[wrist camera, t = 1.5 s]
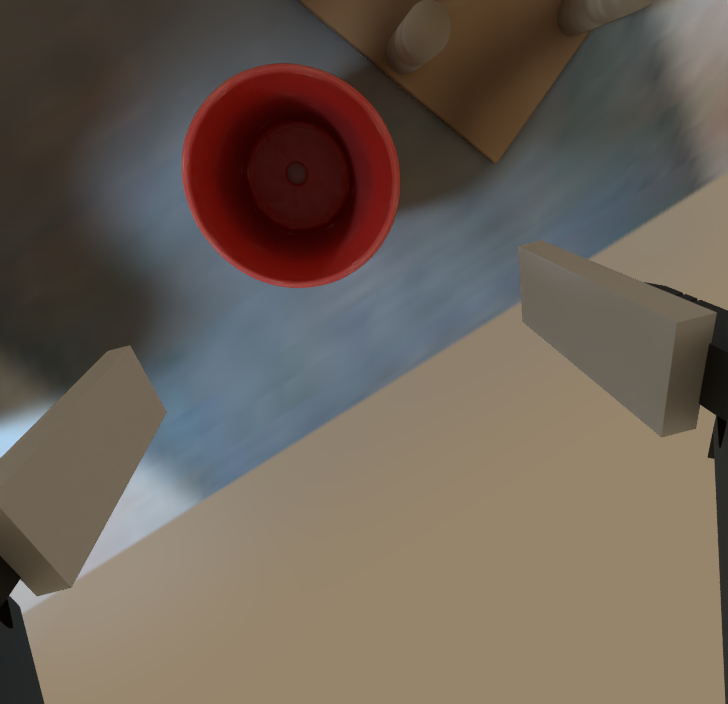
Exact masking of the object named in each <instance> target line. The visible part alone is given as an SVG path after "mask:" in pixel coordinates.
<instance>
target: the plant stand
mask: <svg viewBox="0 0 728 704" xmlns="http://www.w3.org/2000/svg"><path fill="white" fill-rule="evenodd" d="M297 1H298V2H299V3H300V4H302V5H303V6H304V7H305V8H307V9H308V10H309V11H310V12H311V13H313V14H314V15H315V16H316V17H317V18H319V19H320V20H321V21H322V22H323V23H325V24H326V25H327V26H328V27H329V28H331V29H332V30H333V31H334V32H336V33H337V34H338V35H339V36H340V37H342V38H343V39H344V40H345V41H346V42H348V43H349V44H350V45H351V46H352V47H354V48H355V49H356V50H357V51H359V52H360V53H361V54H362V55H363V56H365V57H366V58H367V59H368V60H369V61H371V62H372V63H373V64H374V65H375V66H377V67H378V68H379V69H380V70H381V71H383V72H384V73H385V74H386V75H388V76H389V77H390V78H391V79H392V80H394V81H395V82H396V83H397V84H398V85H400V86H401V87H402V88H403V89H404V90H406V91H407V92H408V93H409V94H410V95H412V96H413V97H414V98H415V99H417V100H418V101H419V102H420V103H421V104H423V105H424V106H425V107H426V108H427V109H429V110H430V111H431V112H432V113H433V114H435V115H436V116H437V117H438V118H439V119H441V120H442V121H443V122H444V123H446V124H447V125H448V126H449V127H450V128H452V129H453V130H454V131H455V132H456V133H458V134H459V135H460V136H461V137H462V138H464V139H465V140H466V141H467V142H468V143H470V144H471V145H472V146H473V147H475V148H476V149H477V150H478V151H479V152H481V153H482V154H483V155H484V156H485V157H487V158H488V159H489V160H490V161H491V162H493V163H497V162H498V161H499V159H500V158H501V157H502V155H503V154H504V152H505V151H506V149H507V148H508V147H509V145H510V144H511V142H512V141H513V140H514V138H515V137H516V135H517V134H518V132H519V131H520V130H521V128H522V127H523V125H524V124H525V123H526V121H527V120H528V118H529V117H530V115H531V114H532V113H533V111H534V110H535V108H536V107H537V106H538V104H539V103H540V101H541V100H542V98H543V97H544V96H545V94H546V93H547V91H548V90H549V89H550V87H551V86H552V84H553V83H554V81H555V80H556V79H557V77H558V76H559V74H560V73H561V71H562V70H563V69H564V67H565V66H566V64H567V63H568V62H569V60H570V59H571V57H572V56H573V54H574V53H575V52H576V50H577V49H578V47H579V46H580V45H581V43H582V42H583V40H584V39H585V37H586V36H587V35H588V33H589V32H590V30H592V29H594V28H597V27H599V26H602V25H604V24H606V23H609V22H611V21H614V20H616V19H619V18H621V17H623V16H626V15H628V14H631V13H633V12H635V11H638V10H640V9H643V8H645V7H646V6H648V5H649V4H650V3H651V2H652V1H653V0H297Z"/></svg>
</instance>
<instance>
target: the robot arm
mask: <svg viewBox="0 0 728 704" xmlns="http://www.w3.org/2000/svg"><path fill="white" fill-rule="evenodd" d="M519 265H520V283H521V302H522V321H523V322H524V323H525V324H526V325H527V326H529V327H530V328H531V329H532V330H533V331H534V332H536V333H537V334H538V335H539V336H540V337H542V338H543V339H544V340H545V341H546V342H548V343H549V344H550V345H551V346H552V347H554V348H555V349H556V350H557V351H559V352H560V353H561V354H562V355H563V356H564V357H566V358H567V359H568V360H569V361H571V362H572V363H573V364H574V365H575V366H576V367H578V368H579V369H580V370H581V371H582V372H584V373H585V374H586V375H587V376H588V377H590V378H591V379H592V380H593V381H594V382H596V383H597V384H598V385H599V386H600V387H602V388H603V389H604V390H605V391H606V392H608V393H609V394H610V395H611V396H612V397H614V398H615V399H616V400H617V401H618V402H620V403H621V404H622V405H623V406H624V407H626V408H627V409H628V410H629V411H630V412H632V413H633V414H634V415H635V416H636V417H638V418H639V419H640V420H641V421H642V422H644V423H645V424H646V425H647V426H648V427H650V428H651V429H652V430H653V431H654V432H656V433H657V434H658V435H659V436H661V437H665V436H669V435H672V434H676V433H680V432H684V431H688V430H692V429H696V425H697V419H698V414H699V408H700V405H702V406H703V407H705V408H706V409H708V410H709V411H711V412H712V413H714V414H715V415H716V419H715V424H714V428H713V434H712V438H711V443H710V448H709V453H708V458H713V459H714V458H715V481H716V500H717V501H716V502H717V525H718V547H719V569H720V591H721V612H722V635H723V658H724V679H725V702H726V704H728V311H727V310H725V309H722V308H720V307H717V306H715V305H712V304H710V303H707V302H705V301H702V300H699V301H698V300H697V298H694V297H692V296H690V295H687V294H685V295H683V293H682V292H679V291H677V290H674V289H672V288H669V287H667V286H663V285H657V284H651V283H645V282H641V281H639V280H636V279H634V278H631V277H629V276H627V275H624V274H622V273H619V272H617V271H615V270H612V269H609V268H607V267H605V266H602V265H600V264H598V263H595V262H593V261H590V260H588V259H585V258H583V257H581V256H578V255H576V254H573V253H571V252H568V251H566V250H563V249H561V248H559V247H556V246H554V245H551V244H549V243H546V242H544V241H542V240H541V241H537V242H533V243H529V244H525V245H521V246H519ZM166 413H167V412H166V410H165V408H164V406H163V405H162V403H161V401H160V399H159V397H158V395H157V394H156V392H155V390H154V388H153V386H152V384H151V383H150V381H149V379H148V377H147V375H146V373H145V372H144V370H143V368H142V366H141V364H140V362H139V361H138V359H137V357H136V355H135V353H134V351H133V350H132V348H131V346H130V345H129V346H125V347H121V348H117V349H113V350H109V351H107V352H106V353H105V354H104V355H103V356H102V357H101V358H100V359H99V360H98V361H97V362H96V363H95V364H94V365H93V366H92V367H91V368H90V369H89V370H88V371H87V372H86V373H85V374H84V375H83V376H82V377H81V378H80V379H79V380H78V381H77V382H76V383H75V384H74V385H73V386H72V387H71V388H70V389H69V390H68V391H67V392H66V393H65V394H64V395H63V396H62V397H61V398H60V399H59V400H58V401H57V402H56V403H55V404H54V405H53V406H52V407H51V408H50V409H49V410H48V411H47V412H46V413H45V414H44V415H43V416H42V417H41V418H40V419H39V420H38V421H37V422H36V423H35V424H34V425H33V426H32V427H31V428H30V429H29V430H28V431H27V432H26V433H25V434H24V435H23V436H22V437H21V438H20V439H19V440H18V441H17V442H16V443H15V444H14V445H13V446H12V447H11V448H10V449H9V450H8V451H7V452H6V453H5V454H4V455H3V456H2V457H1V458H0V704H44V701H43V697H42V693H41V689H40V685H39V681H38V677H37V673H36V669H35V665H34V661H33V657H32V653H31V649H30V645H29V641H28V637H27V633H26V629H25V625H24V621H23V617H22V613H21V609H20V606H19V605H18V604H17V603H16V602H15V601H14V600H13V599H12V598H11V597H10V596H9V595H10V593H11V592H12V590H13V589H14V587H15V586H16V584H17V583H18V581H19V580H20V579H21V580H22V581H23V582H24V583H25V585H26V586H27V587H28V588H29V589H30V590H31V591H32V592H33V593H34V594H35V595H36V596H40V595H44V594H48V593H52V592H56V591H60V590H64V589H67V588H71V587H72V585H73V584H74V582H75V580H76V578H77V576H78V574H79V573H80V571H81V569H82V567H83V565H84V563H85V562H86V560H87V558H88V556H89V554H90V552H91V551H92V549H93V547H94V545H95V543H96V541H97V540H98V538H99V536H100V534H101V532H102V530H103V529H104V527H105V525H106V523H107V521H108V519H109V518H110V516H111V514H112V512H113V510H114V508H115V506H116V505H117V503H118V501H119V499H120V497H121V495H122V494H123V492H124V490H125V488H126V486H127V484H128V483H129V481H130V479H131V477H132V475H133V473H134V472H135V470H136V468H137V466H138V464H139V462H140V461H141V459H142V457H143V455H144V453H145V451H146V450H147V448H148V446H149V444H150V442H151V440H152V439H153V437H154V435H155V433H156V431H157V429H158V428H159V426H160V424H161V422H162V420H163V418H164V417H165V415H166Z"/></svg>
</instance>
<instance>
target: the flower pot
mask: <svg viewBox="0 0 728 704" xmlns="http://www.w3.org/2000/svg"><path fill="white" fill-rule="evenodd" d="M182 180H183V186H184V191H185V195H186V199H187V202H188V205H189V208H190V210H191V213H192V215H193V217H194V220H195V222H196V223H197V225H198V227H199V229H200V230H201V232H202V233H203V235H204V236H205V238H206V239H207V240H208V241H209V243H210V244H211V245H212V246H213V248H214V249H215V250H216V251H217V252H218V253H219V254H220V255H221V256H222V257H223V258H224V259H226V260H227V261H228V262H229V263H230V264H232V265H233V266H234V267H236V268H237V269H239V270H240V271H242V272H243V273H245V274H247V275H249V276H251V277H253V278H255V279H258V280H260V281H262V282H266V283H269V284H273V285H277V286H282V287H291V288H306V287H315V286H320V285H325V284H328V283H332V282H335V281H337V280H340V279H342V278H344V277H346V276H348V275H349V274H351V273H353V272H354V271H356V270H357V269H358V268H360V267H361V266H362V265H364V264H365V263H366V262H367V261H368V260H369V259H370V258H371V257H372V256H373V255H374V254H375V253H376V251H377V250H378V249H379V248H380V246H381V245H382V243H383V242H384V240H385V238H386V237H387V235H388V233H389V231H390V229H391V227H392V224H393V222H394V219H395V215H396V212H397V209H398V204H399V197H400V167H399V161H398V156H397V152H396V148H395V145H394V142H393V139H392V137H391V135H390V133H389V130H388V128H387V127H386V125H385V123H384V121H383V120H382V118H381V116H380V115H379V113H378V112H377V111H376V109H375V108H374V107H373V106H372V105H371V104H370V102H369V101H368V100H367V99H366V98H365V97H364V96H363V95H362V94H361V93H359V92H358V91H357V90H356V89H355V88H353V87H352V86H351V85H349V84H348V83H346V82H345V81H343V80H341V79H340V78H338V77H336V76H334V75H332V74H330V73H327V72H325V71H322V70H320V69H316V68H313V67H309V66H305V65H299V64H290V63H278V64H268V65H263V66H258V67H255V68H252V69H249V70H246V71H243V72H241V73H239V74H237V75H235V76H233V77H231V78H230V79H228V80H227V81H225V82H224V83H222V84H221V85H220V86H219V87H218V88H216V89H215V90H214V91H213V92H212V93H211V94H210V95H209V96H208V98H207V99H206V100H205V101H204V102H203V104H202V105H201V107H200V108H199V110H198V111H197V113H196V115H195V116H194V118H193V120H192V122H191V124H190V126H189V129H188V132H187V134H186V137H185V141H184V145H183V152H182Z"/></svg>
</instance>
